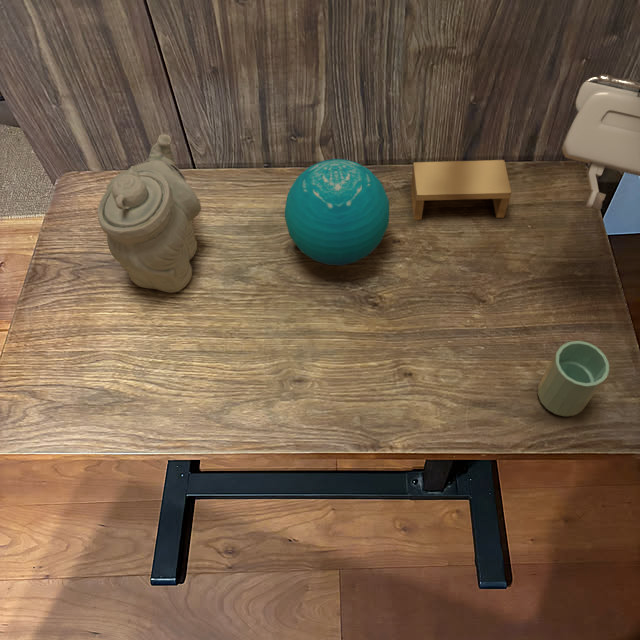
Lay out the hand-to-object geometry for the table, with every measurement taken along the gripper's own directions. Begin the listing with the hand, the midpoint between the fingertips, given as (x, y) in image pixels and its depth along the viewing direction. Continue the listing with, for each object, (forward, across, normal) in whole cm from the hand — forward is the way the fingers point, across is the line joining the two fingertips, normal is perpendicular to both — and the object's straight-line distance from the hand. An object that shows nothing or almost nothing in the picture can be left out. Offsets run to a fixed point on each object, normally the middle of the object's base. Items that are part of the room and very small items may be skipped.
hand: (636, 219), depth 69 cm
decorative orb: (+15, -36, +15) cm, 42 cm away
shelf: (+4, -22, +26) cm, 34 cm away
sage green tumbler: (+24, 0, +6) cm, 24 cm away
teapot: (+22, -60, +8) cm, 64 cm away
